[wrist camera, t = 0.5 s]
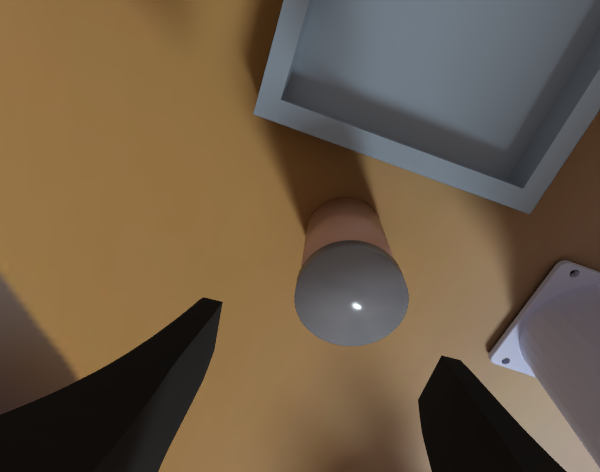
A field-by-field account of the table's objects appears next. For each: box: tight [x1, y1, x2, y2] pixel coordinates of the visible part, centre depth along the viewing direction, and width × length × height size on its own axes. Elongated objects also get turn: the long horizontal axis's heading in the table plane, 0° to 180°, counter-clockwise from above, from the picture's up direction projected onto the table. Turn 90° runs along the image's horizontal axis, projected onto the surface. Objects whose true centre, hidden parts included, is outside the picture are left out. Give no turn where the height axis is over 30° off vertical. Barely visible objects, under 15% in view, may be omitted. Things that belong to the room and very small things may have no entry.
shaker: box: [295, 198, 409, 346], centre depth 17 cm, size 5×5×7 cm
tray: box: [253, 0, 600, 214], centre depth 15 cm, size 14×14×2 cm
